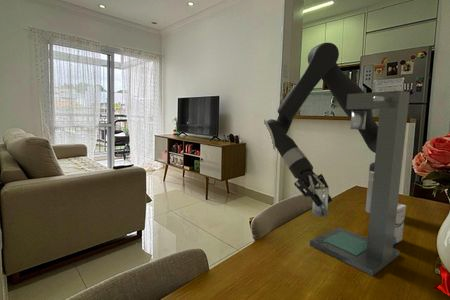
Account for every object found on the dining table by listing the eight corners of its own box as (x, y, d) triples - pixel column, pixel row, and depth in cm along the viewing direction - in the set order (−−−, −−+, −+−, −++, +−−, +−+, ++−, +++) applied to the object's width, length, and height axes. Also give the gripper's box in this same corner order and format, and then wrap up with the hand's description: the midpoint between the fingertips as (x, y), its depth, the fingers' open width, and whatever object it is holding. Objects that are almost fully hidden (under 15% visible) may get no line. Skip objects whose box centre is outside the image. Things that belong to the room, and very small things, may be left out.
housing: (317, 209, 88) (319, 181, 86) (330, 214, 84) (331, 184, 82) (309, 213, 85) (310, 183, 84) (321, 217, 81) (323, 186, 80)
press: (338, 231, 84) (348, 97, 78) (398, 255, 70) (417, 93, 64) (306, 246, 74) (315, 94, 68) (369, 278, 60) (387, 88, 54)
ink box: (390, 247, 74) (395, 200, 72) (372, 240, 78) (377, 196, 76) (402, 240, 79) (407, 195, 77) (385, 233, 83) (390, 191, 81)
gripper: (290, 158, 84) (320, 202, 76) (315, 154, 92) (345, 194, 84) (278, 171, 89) (305, 213, 81) (303, 166, 97) (329, 204, 89)
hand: (325, 203), depth 82 cm, fingers closed on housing, 4 cm apart
